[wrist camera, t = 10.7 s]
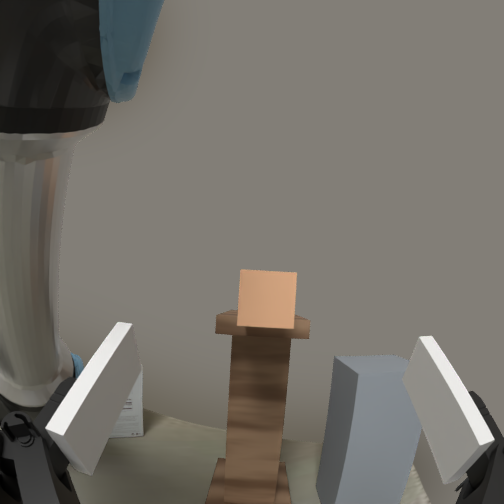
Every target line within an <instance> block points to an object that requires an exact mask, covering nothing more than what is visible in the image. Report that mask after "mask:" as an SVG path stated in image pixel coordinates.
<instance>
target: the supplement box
mask: <svg viewBox="0 0 504 504" xmlns="http://www.w3.org/2000/svg"><path fill="white" fill-rule="evenodd" d="M141 366H142V365H141ZM142 389H143V366H142V370H141V372H140V374H139V376H138V378H137V380H136V382H135V384H134V386H133V388H132V390H131V392H130V395H129V397H128V399H127V401H126V403H125V405H124V407H123V409H122V411H121V413H120V415H119V417H118V420H117V422H116V424H115V426H114V428H113V430H112V432H111V435H110V437H109V438H122V437H138V436H143V404H142Z"/></svg>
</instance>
